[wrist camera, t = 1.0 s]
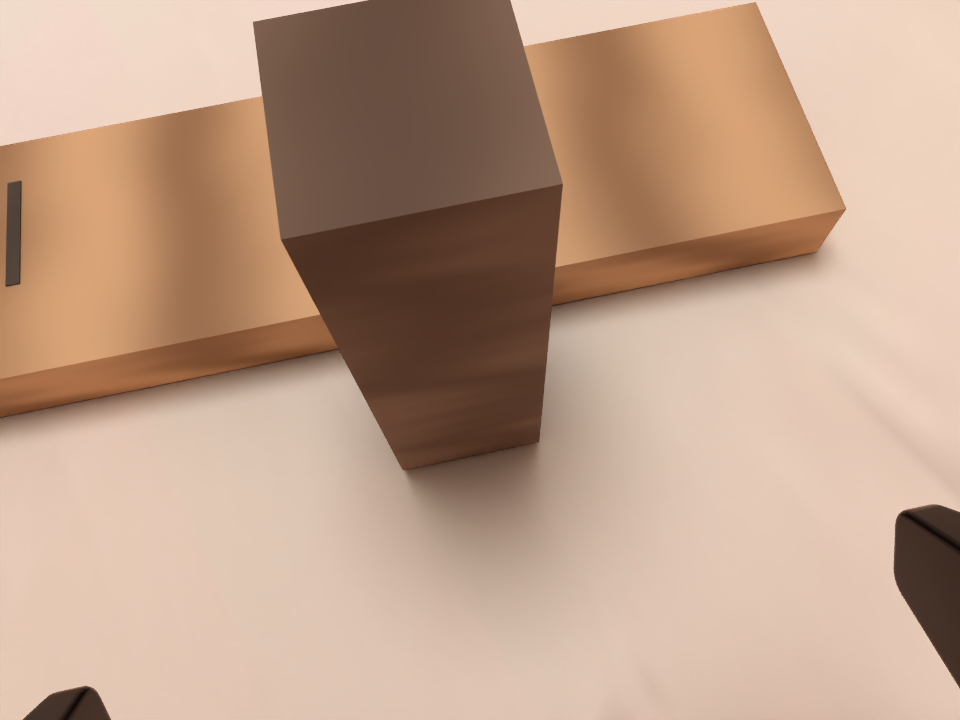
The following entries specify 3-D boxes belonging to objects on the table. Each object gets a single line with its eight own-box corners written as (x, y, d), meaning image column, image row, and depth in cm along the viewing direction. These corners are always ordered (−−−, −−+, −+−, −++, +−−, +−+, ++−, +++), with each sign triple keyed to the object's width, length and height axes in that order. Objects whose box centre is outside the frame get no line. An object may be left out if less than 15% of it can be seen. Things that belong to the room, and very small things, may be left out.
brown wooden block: (462, 123, 28) (421, -310, 16) (539, 441, 23) (562, 184, 11) (347, 146, 28) (216, -274, 15) (402, 470, 23) (280, 239, 11)
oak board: (736, 57, 29) (756, 0, 26) (816, 251, 26) (847, 207, 23) (-298, 257, 27) (-376, 216, 25) (-340, 486, 24) (-433, 464, 22)
